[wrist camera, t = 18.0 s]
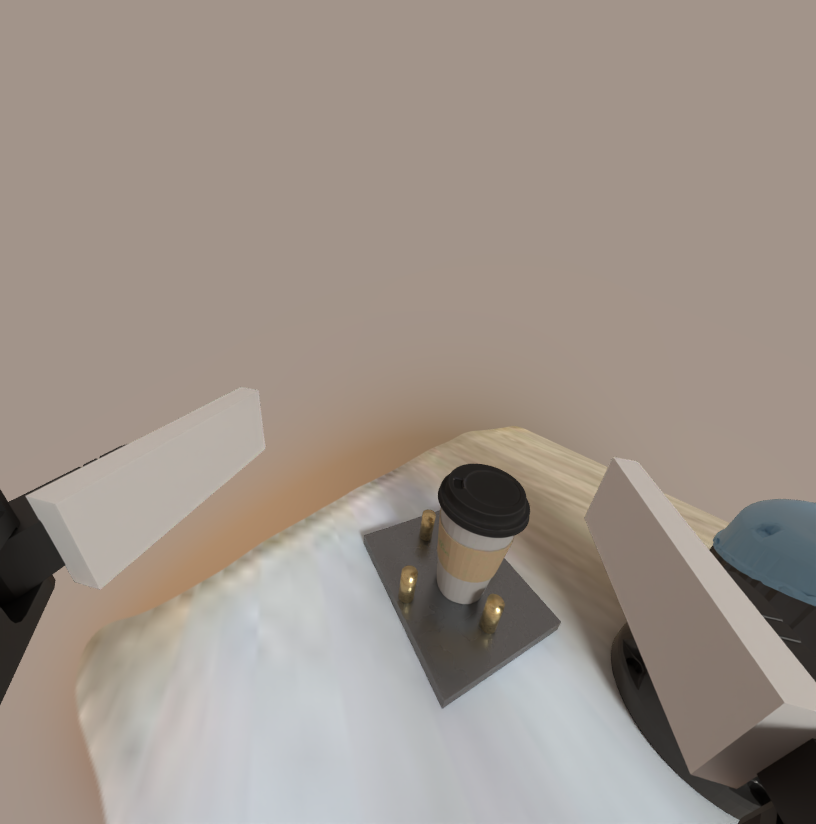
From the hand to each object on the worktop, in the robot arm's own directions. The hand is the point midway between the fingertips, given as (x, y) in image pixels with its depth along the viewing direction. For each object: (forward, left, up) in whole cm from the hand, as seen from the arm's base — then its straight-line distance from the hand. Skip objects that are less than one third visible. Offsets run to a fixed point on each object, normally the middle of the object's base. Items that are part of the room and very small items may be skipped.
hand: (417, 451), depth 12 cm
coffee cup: (+9, -15, -29) cm, 34 cm away
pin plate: (+10, -15, -30) cm, 35 cm away
